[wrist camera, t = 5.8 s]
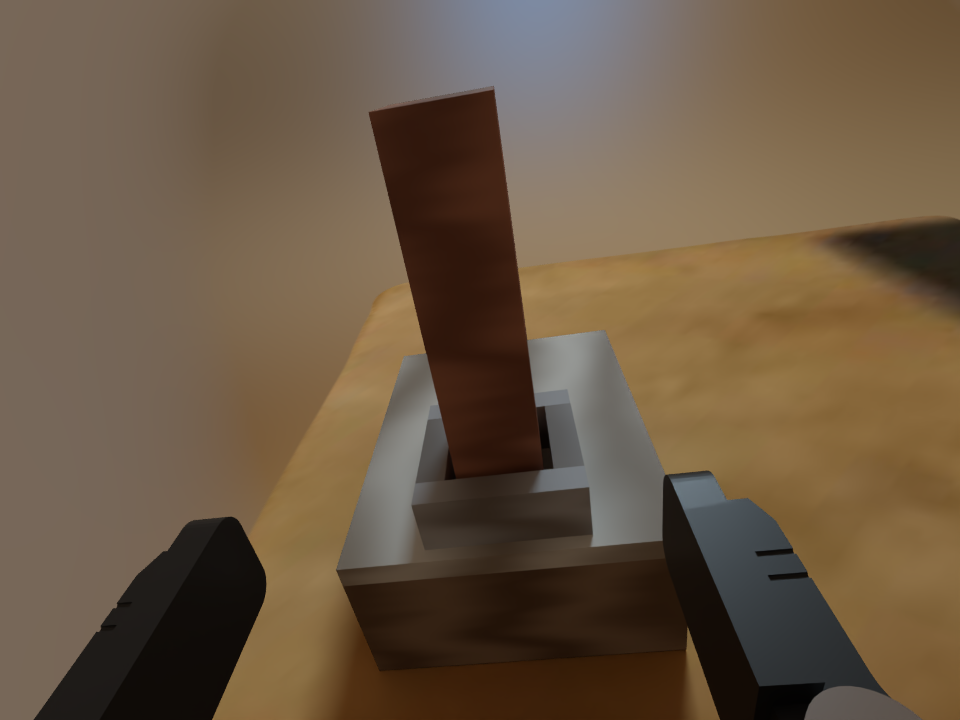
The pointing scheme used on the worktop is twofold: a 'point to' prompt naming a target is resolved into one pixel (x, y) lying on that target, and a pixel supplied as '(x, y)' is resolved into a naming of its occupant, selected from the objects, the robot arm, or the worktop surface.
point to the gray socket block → (515, 528)
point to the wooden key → (463, 274)
